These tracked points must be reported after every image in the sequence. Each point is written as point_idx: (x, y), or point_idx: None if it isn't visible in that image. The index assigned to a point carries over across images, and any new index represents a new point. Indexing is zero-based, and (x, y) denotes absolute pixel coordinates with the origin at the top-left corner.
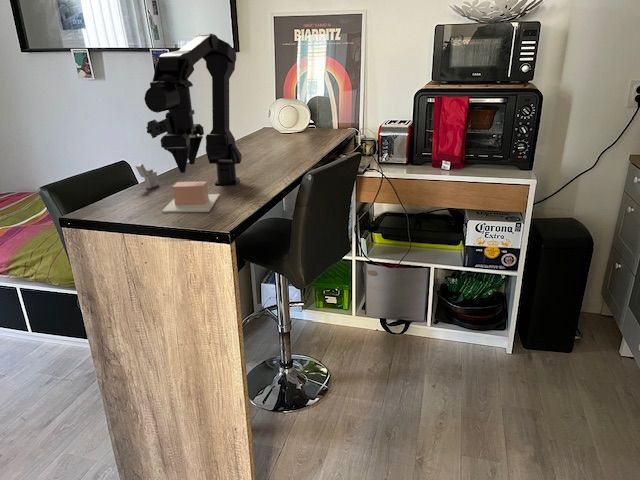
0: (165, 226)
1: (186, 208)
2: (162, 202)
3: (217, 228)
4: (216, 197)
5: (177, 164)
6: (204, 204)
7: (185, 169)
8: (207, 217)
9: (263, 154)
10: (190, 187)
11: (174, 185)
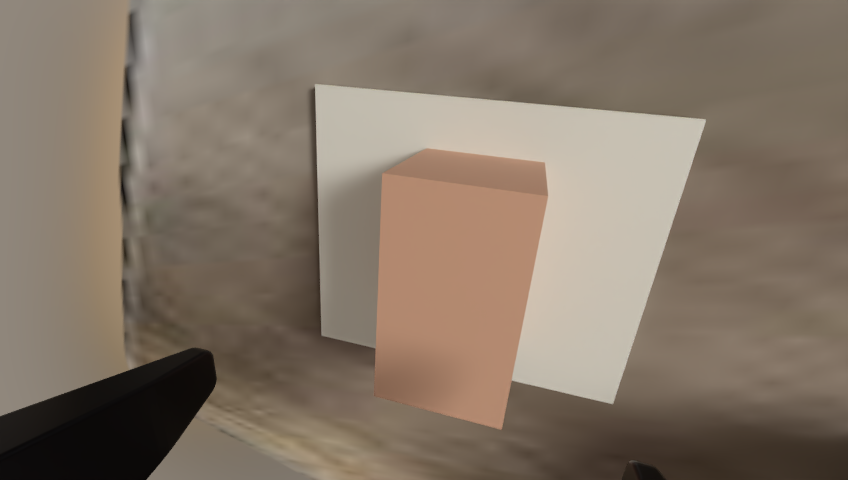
0: (137, 151)
1: (349, 228)
2: (559, 19)
3: (151, 352)
4: (537, 382)
5: (61, 400)
6: None
7: (179, 417)
8: (255, 323)
9: None
10: (379, 312)
11: (420, 186)
